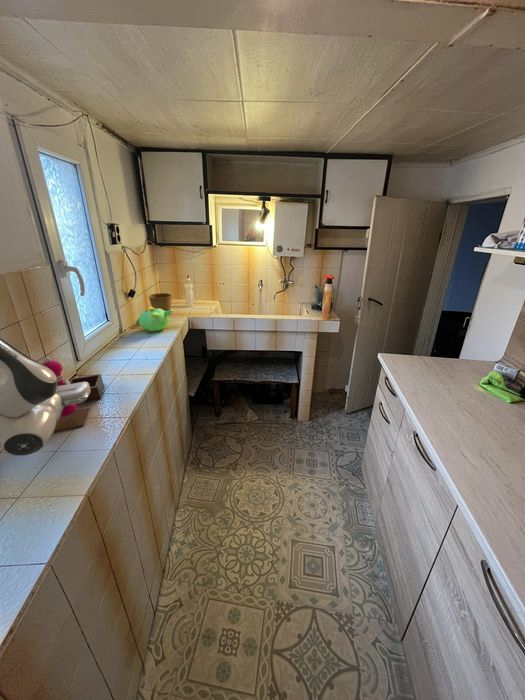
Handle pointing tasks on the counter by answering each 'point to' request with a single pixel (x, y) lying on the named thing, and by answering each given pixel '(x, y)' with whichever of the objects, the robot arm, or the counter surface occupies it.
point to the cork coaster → (71, 420)
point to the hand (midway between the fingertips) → (57, 384)
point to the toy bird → (154, 319)
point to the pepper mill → (59, 382)
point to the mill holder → (91, 386)
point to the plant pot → (161, 301)
